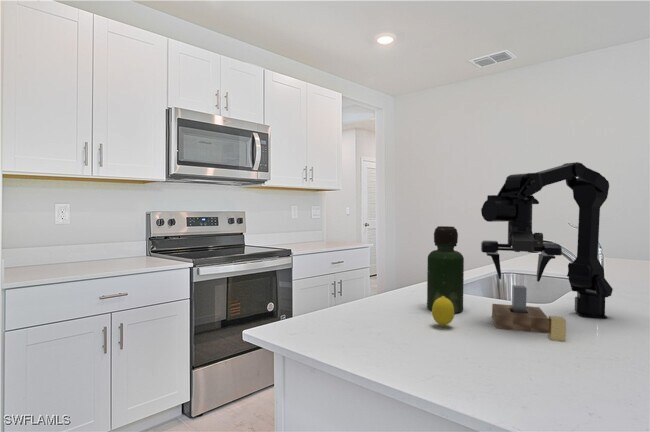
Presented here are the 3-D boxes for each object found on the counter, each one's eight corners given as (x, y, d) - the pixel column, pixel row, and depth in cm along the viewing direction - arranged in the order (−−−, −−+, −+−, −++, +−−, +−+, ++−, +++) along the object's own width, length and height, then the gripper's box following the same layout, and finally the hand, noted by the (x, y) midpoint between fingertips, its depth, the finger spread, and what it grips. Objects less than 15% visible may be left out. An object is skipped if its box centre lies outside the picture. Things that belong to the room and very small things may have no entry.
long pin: (523, 322, 109) (524, 285, 108) (525, 326, 106) (526, 288, 106) (511, 321, 110) (512, 285, 109) (513, 325, 107) (513, 287, 107)
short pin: (562, 337, 97) (562, 316, 97) (565, 341, 94) (565, 320, 94) (548, 336, 98) (548, 315, 98) (551, 340, 95) (551, 319, 95)
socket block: (539, 319, 112) (539, 307, 112) (548, 332, 100) (548, 318, 100) (492, 315, 115) (492, 303, 115) (495, 328, 104) (496, 314, 104)
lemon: (455, 330, 102) (455, 299, 102) (432, 329, 103) (432, 298, 103) (452, 324, 107) (453, 294, 107) (431, 323, 108) (431, 293, 108)
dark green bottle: (462, 315, 116) (463, 228, 115) (425, 312, 119) (426, 227, 118) (463, 306, 125) (464, 226, 125) (428, 304, 129) (429, 225, 128)
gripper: (483, 222, 102) (482, 283, 103) (568, 223, 96) (566, 288, 97) (481, 220, 113) (480, 276, 113) (557, 221, 107) (555, 280, 108)
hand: (518, 280), depth 107 cm, fingers open, 9 cm apart
